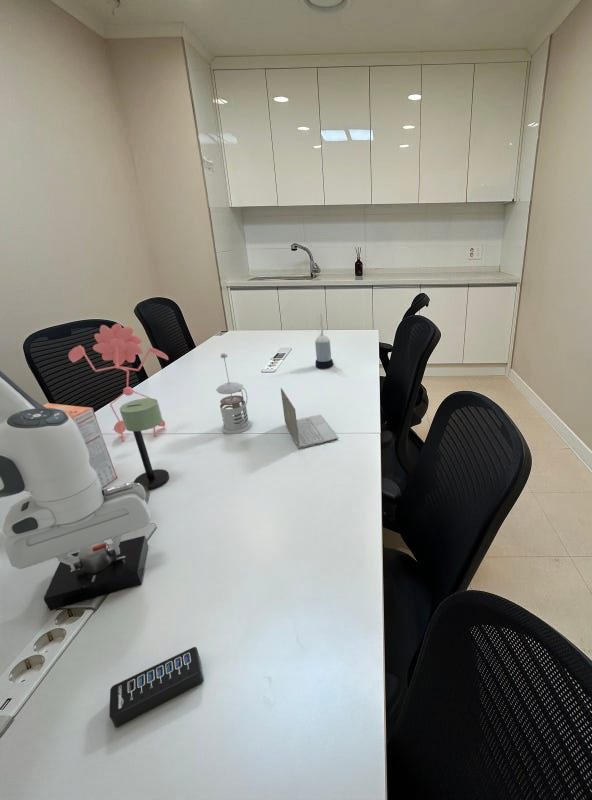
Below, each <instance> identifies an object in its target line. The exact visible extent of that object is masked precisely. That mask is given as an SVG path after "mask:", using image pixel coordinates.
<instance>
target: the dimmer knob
mask: <svg viewBox="0 0 592 800" xmlns="http://www.w3.org/2000/svg"><path fill="white" fill-rule="evenodd" d="M108 545H109V544H108V543H107V542H106V540H105V541H102V542H99V543H96V544H93V545H90V546H87V547H84V548H82V549H79V551H78V552H79V553H78V552H77V553H78V557H79V560H80V562H81V564H82V566H83V569H84V571H85V572H86V573H89V574H92V573H97V572H99V571H102V570H103V569H105V568H106V567H108V566H109V565H110V563H111V562H112V557H110V554H109V552H108V549H109V548H108Z"/></svg>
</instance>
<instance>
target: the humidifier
mask: <svg viewBox="0 0 592 800" xmlns="http://www.w3.org/2000/svg"><path fill="white" fill-rule="evenodd" d="M316 317H317V321H318V320H320V322H319V326H320V329H318V330H317V332H318V334H319V335H318V336H317V337H316V338H315V340H314V341H315V342H314V344H315V345H314V346H315V355H316V359H315V368H316V369H319V370H327V369H331V368H333V367H334V364H335V363H334V361H333V359H332V351H331V339H330V338H329V337H328V336H326V335H325V334H324V326H323V313H322V311H321V312H319V316H316ZM318 317H319V318H320V319H319V318H318ZM319 332H320V333H319Z"/></svg>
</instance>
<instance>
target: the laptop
mask: <svg viewBox="0 0 592 800" xmlns="http://www.w3.org/2000/svg"><path fill="white" fill-rule="evenodd" d="M280 393H281V402H282V410H283V417H284V424H285V425H286V428H287V430H288V431H289V433H290V434H291V436H292V438H293V440H294V442H295V444H296V445H297V447H298V449H302V448H303V449H304V448H306V447H307V448H308V447H310V446H314V445H318V444H322V443H326V442H330V441H333V440H337V439H339V436H338V435H337V433H336V432H335V431H334V429H333V428H332V427H331V425H330V424H329V423H328V422H327V420H325V418H324V417H323V416H322V414H317V415H311V416H307V417H302V418H297V412H296V408H295V406H294V405H293V403H292V402H291V400H290V399H289V397H288V396H287V394H286V392H285V391H284V390H283V388H282V387H280Z"/></svg>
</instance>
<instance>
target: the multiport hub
mask: <svg viewBox="0 0 592 800" xmlns="http://www.w3.org/2000/svg"><path fill="white" fill-rule="evenodd" d="M204 681H205V680H204V673H203V667H202V662H201V657H200V653H199V650H198V647H197V646H192V647H191V648H189V649H186V650H185V651H182V652H180V653H178V654H176V655H174V656H171V657H170V658H168V659H165V660H164V661H161V662H160V663H157V664H156V665H154V666H151V667H149V668H147V669H145V670H142V671H141V672H138V673H136V674H134V675H132V676H130V677H128V678H126V679H124V680H122V681H120V682H118V683H115V684H114V685H112V686H111V687H110V690H109V715H108V717H109V718H110V720H111V723H112V725H113V726H114V728H120V727H121V726H123V725H125V724H127V723H129V722H131V721H133V720H134V719H136V718H138V717H140V716H142V715H144V714H147V713H148V712H149V711H153V709H156V708H157V707H159V706H161V705H163V704H165V703H167V702H169V701H170V700H173V699H175V698H176V697H179V696H180V695H182V694H184V693H186V692H188V691H190V690H192V689H194V688H195V687H197V686H200V685H202V684H203V683H204Z"/></svg>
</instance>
